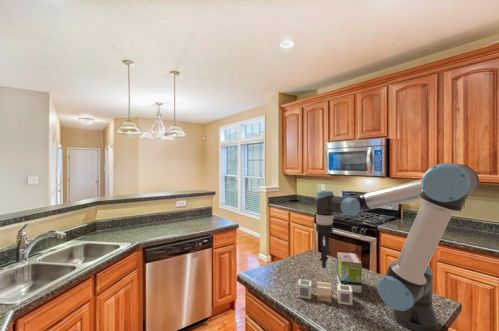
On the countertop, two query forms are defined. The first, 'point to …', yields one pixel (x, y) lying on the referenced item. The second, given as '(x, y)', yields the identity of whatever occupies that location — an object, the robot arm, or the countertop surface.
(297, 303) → the countertop surface
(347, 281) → the tea box
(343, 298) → the labelled block
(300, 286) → the labelled block
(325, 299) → the plain block
